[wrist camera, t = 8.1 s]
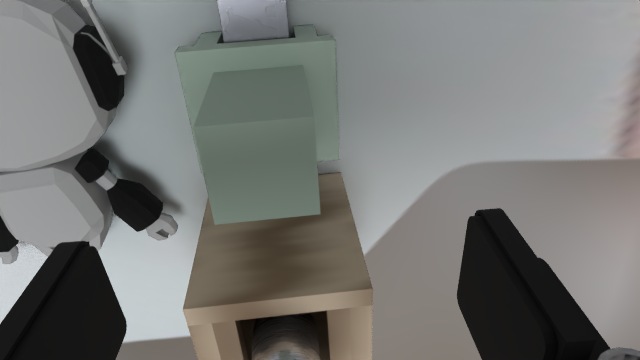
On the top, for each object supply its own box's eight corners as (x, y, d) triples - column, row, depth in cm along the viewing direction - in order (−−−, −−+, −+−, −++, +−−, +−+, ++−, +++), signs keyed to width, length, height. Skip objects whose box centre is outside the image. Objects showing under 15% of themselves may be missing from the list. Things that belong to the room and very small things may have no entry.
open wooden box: (340, 172, 27) (372, 288, 19) (343, 247, 30) (371, 376, 22) (210, 184, 27) (182, 309, 18) (227, 259, 30) (209, 396, 21)
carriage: (326, 23, 22) (358, 83, 14) (331, 131, 25) (359, 231, 17) (187, 34, 22) (138, 102, 14) (209, 142, 25) (180, 249, 17)
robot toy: (196, 207, 29) (105, -45, 20) (186, 256, 25) (70, -26, 16) (8, 236, 29) (-167, -7, 20) (-30, 290, 25) (-265, 21, 16)
